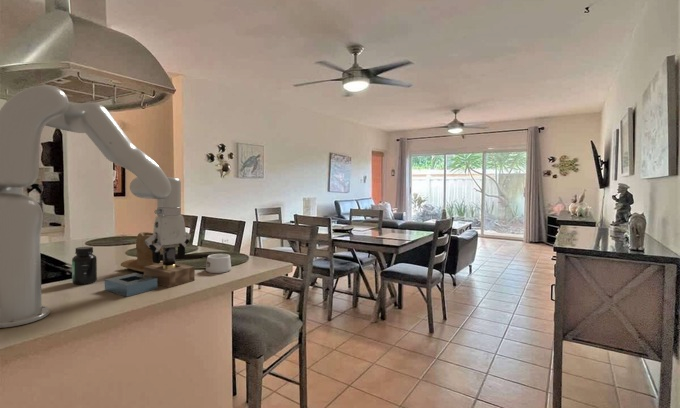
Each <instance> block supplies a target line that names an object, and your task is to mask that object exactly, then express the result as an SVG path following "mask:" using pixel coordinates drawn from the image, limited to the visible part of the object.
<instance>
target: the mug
mask: <svg viewBox="0 0 680 408" xmlns="http://www.w3.org/2000/svg"><path fill="white" fill-rule="evenodd" d="M211 254H212V255H209V256H207V257H206V263H205V271H206V272H207V273H209V274H224V273H227V272H230V271H231V270H232V263H231V261H232V260H231V255H230V254H229V253H228V254H227V253H215V254H214V253H211Z"/></svg>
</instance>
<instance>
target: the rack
mask: <svg viewBox="0 0 680 408" xmlns="http://www.w3.org/2000/svg"><path fill="white" fill-rule="evenodd" d="M195 269H196V268H195V266H193V265H189V264H183V263H177V262H175V268H172V269H163V262H160V263H159V264H155V265H150V266H145V267H144V272H143V275H147V276H151V277H155V278H157V285H160V286H161V287H162V286H163V287H166V288H172V287H176V286H180V285H182V284H183V285H184V284H187V283H190V282H193V281H195V279H196V278H195V274H196V273H195Z"/></svg>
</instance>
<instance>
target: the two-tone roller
mask: <svg viewBox="0 0 680 408" xmlns="http://www.w3.org/2000/svg"><path fill="white" fill-rule="evenodd" d="M162 254H163V261H162V263H163V269H172V268H175V263H176V260H175V254H176V246H174V245H169V246H163V249H162Z"/></svg>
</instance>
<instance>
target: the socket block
mask: <svg viewBox="0 0 680 408" xmlns="http://www.w3.org/2000/svg"><path fill="white" fill-rule="evenodd" d="M154 290H158V284H157V278H155V277H151V276H147V275H144V274H142V273H137V272H132V273H129V274H123V275H119V276H114V277H109V278H105V279H104V291H106V292H110V293H112V294H113V293H114V294H115V295H119V296H123V297H126V298H128V297H132V296H135V295H138V294H142V293H147V292H150V291H154Z"/></svg>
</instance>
